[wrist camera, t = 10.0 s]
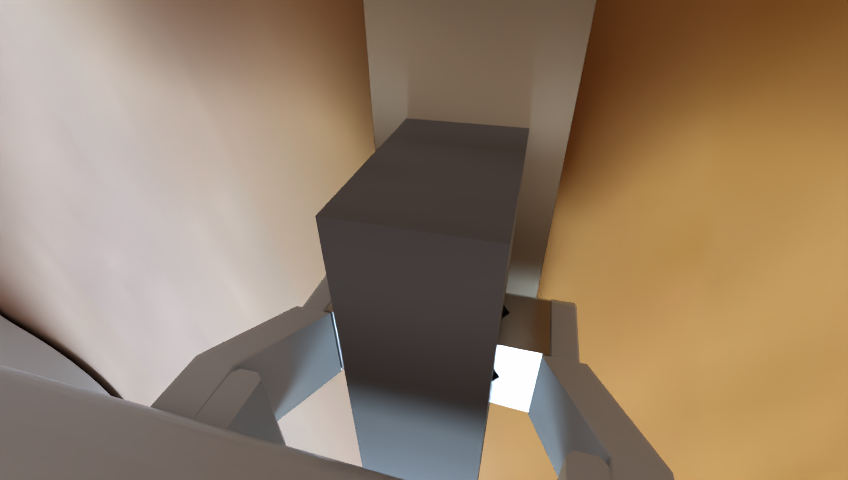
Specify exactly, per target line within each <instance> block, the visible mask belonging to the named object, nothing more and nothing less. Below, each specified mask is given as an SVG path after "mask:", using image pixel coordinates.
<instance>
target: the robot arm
mask: <svg viewBox="0 0 848 480" xmlns="http://www.w3.org/2000/svg"><path fill="white" fill-rule="evenodd" d="M341 369H344V365H343V360H342V354H341V349H340V344H339V339H338V333H337V328H336V323H335V317H334V312H333V307H332V301H331V296H330V291H329V285H328V280H327V275H326V276H325V277H324V278H323V280H322V281H321V283H320V284H319V285H318V287H317V288H316V289H315V291H314V292H313V293H312V295H311V296H310V298H309V299H308V300H307V302H306V303H305V304H304V306H303V307H298V306H296V307H294V308H292V309H290V310H288V311H286V312H284V313H282V314H280V315H278V316H276V317H274V318H272V319H270V320H268V321H266V322H264V323H262V324H260V325H258V326H256V327H254V328H252V329H250V330H248V331H245V332H243V333H241V334H239V335H237V336H235V337H233V338H231V339H229V340H227V341H225V342H223V343H221V344H219V345H217V346H215V347H213V348H211V349H209V350H207V351H205V352H203V353H201V354H199V355H197V356H196V357H195V358H194V359H193V360H192V361H191V362H190V363H189V365H188V366H187V367H186V368H185V369H184V370H183V371H182V372H181V373H180V374H179V376H178V377H177V378H176V379H175V380H174V381H173V382H172V383H171V384H170V386H169V387H168V388H167V389H166V390H165V391H164V392H163V393H162V394H161V395H160V397H159V398H158V399H157V400H156V401H155V402H154V403H153V404H152V405H151V406H150V407H148V406H145V405H141V404H138V403H134V402H131V401H127V400H124V399H120V398H117V397H113V396H110V395H109V394H108V393H107V391H106V390H104V389H103V388H102V387H101V386H100V385H99V384H98V383H97V382H96V381H95V380H94V379H92V378H91V377H90V376H89V375H88V374H87V373H85V372H84V371H83V370H82V369H80V368H79V367H78V366H77V365H75V364H74V363H73V362H71V361H70V360H69V359H67V358H66V357H65V356H63V355H62V354H60V353H59V352H58V351H56V350H55V349H53V348H52V347H50V346H49V345H47V344H46V343H44V342H43V341H41V340H39V339H38V338H36V337H34V336H33V335H31V334H29V333H28V332H26V331H24V330H23V329H21V328H19V327H18V326H16V325H14V324H13V323H11V322H10V321H8V320H6V319H5V318H3V317H2V316H0V480H404V479H401V478H397V477H394V476H390V475H387V474H383V473H380V472H376V471H373V470H369V469H366V468H362V467H359V466H355V465H352V464H348V463H345V462H341V461H338V460H334V459H331V458H327V457H324V456H320V455H317V454H313V453H310V452H306V451H302V450H299V449H295V448H292V447H288V446H286V444H285V440H284V438H283V435H282V432H281V430H280V427H279V425H278V422H277V421H278V420H279V419H281V418H282V417H283V416H284V415H286V414H287V413H288V412H289V411H291V410H292V409H293V408H295V407H296V406H297V405H298V404H300V403H301V402H302V401H304V400H305V399H306V398H307V397H309V396H310V395H311V394H313V393H314V392H315V391H316V390H318V389H319V388H320V387H322V386H323V385H324V384H325V383H327V382H328V381H329V380H330V379H332V378H333V377H334V376H336V375H337V374H338V373H339V372H341ZM489 402H492V403H496V404H499V405H503V406H507V407H511V408H515V409H519V410H523V411H527V412H528V415H529V417H530V419H531V421H532V423H533V425H534V427H535V429H536V432H537V434H538V436H539V438H540V440H541V442H542V444H543V446H544V448H545V450H546V453H547V455H548V457H549V459H550V461H551V463H552V465H553V467H554V469H555V471H556V473H557V476H558V479H557V480H674V476H673V473H672V471H671V470H670V469H669V467H668V466H667V465H666V464H665V462H664V461H663V460H662V459H661V457H660V456H659V455H658V453H657V452H656V451H655V450H654V448H653V447H652V446H651V445H650V443H649V442H648V441H647V440H646V438H645V437H644V436H643V434H642V433H641V432H640V431H639V429H638V428H637V427H636V426H635V424H634V423H633V422H632V421H631V419H630V418H629V417H628V415H627V414H626V413H625V412H624V410H623V409H622V408H621V407H620V405H619V404H618V403H617V401H616V400H615V399H614V398H613V396H612V395H611V394H610V393H609V391H608V390H607V389H606V388H605V386H604V385H603V384H602V382H601V381H600V380H599V379H598V377H597V376H596V375H595V374H594V372H593V371H592V370H591V368H590V367H589V366H588V365H587V364H583V363H580V361H579V343H578V325H577V306H576V305H575V303H571V302H564V301H558V300H549V299H543V298H537V297H530V296H524V295H518V294H512V293H506V292H505V298H504V304H503V311H502V318H501V324H500V330H499V336H498V343H497V349H496V357H495V364H494V372H493V378H492V385H491V392H490V399H489Z"/></svg>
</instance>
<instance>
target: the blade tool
mask: <svg viewBox="0 0 848 480" xmlns="http://www.w3.org/2000/svg"><path fill="white" fill-rule="evenodd" d="M363 3H364V16H365V28H366V40H367V53H368V65H369V78H370V90H371V102H372V115H373V127H374V140H375V153H374V154H373V155H372V156H371V157H370V158H369V159H368V160H367V161H366V162H365V163H364V164H363V165H362V167H361V168H360V169H359V170H358V171H357V172H356V173H355V174H354V175H353V176H352V177H351V178H350V179H349V181H348V182H347V183H346V184H345V185H344V186H343V187H342V188H341V189H340V190H339V191H338V192H337V193H336V195H335V196H334V197H333V198H332V199H331V200H330V201H329V202H328V203H327V204H326V205H325V206H324V207H323V209H322V210H321V211H320V212H319V213H318V214H317V215H316V216H315V217H316V222H317V227H318V232H319V238H320V243H321V248H322V254H323V259H324V264H325V270H326V275H327V280H328V285H329V291H330V296H331V301H332V307H333V312H334V317H335V323H336V328H337V333H338V339H339V344H340V349H341V354H342V360H343V365H344V370H345V376H346V381H347V386H348V392H349V397H350V402H351V408H352V413H353V418H354V423H355V429H356V434H357V439H358V445H359V450H360V455H361V461H362V466H363V468H366V469H369V470H373V471H376V472H380V473H383V474H387V475H390V476H394V477H397V478H401V479H404V480H478V477H479V470H480V464H481V457H482V450H483V444H484V437H485V431H486V424H487V418H488V411H489V405H490V402H489V399H490V392H491V385H492V378H493V372H494V364H495V357H496V349H497V343H498V336H499V330H500V324H501V318H502V311H503V304H504V298H505V292H506V293H512V294H518V295H524V296H530V297H536V296H537V291H538V286H539V281H540V276H541V271H542V266H543V261H544V256H545V251H546V246H547V242H548V237H549V232H550V227H551V222H552V217H553V212H554V207H555V202H556V197H557V192H558V187H559V182H560V178H561V173H562V168H563V163H564V158H565V153H566V148H567V143H568V138H569V133H570V128H571V123H572V118H573V114H574V109H575V104H576V99H577V94H578V89H579V84H580V79H581V74H582V69H583V64H584V59H585V54H586V50H587V45H588V40H589V35H590V30H591V25H592V20H593V15H594V10H595V5H596V0H363Z"/></svg>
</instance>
